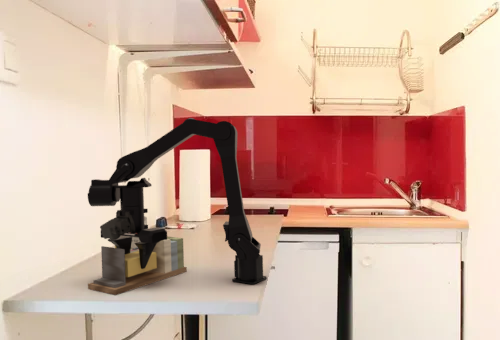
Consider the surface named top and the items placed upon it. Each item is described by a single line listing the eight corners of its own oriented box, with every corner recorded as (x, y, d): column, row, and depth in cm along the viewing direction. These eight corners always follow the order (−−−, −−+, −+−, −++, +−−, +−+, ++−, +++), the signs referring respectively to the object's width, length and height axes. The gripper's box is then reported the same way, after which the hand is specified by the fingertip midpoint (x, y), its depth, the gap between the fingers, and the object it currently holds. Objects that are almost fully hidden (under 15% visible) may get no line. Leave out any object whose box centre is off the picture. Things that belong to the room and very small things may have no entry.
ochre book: (156, 267, 114) (156, 252, 114) (128, 277, 105) (127, 260, 105) (139, 265, 117) (139, 250, 117) (110, 274, 108) (109, 258, 108)
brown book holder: (186, 271, 120) (185, 236, 120) (115, 295, 100) (114, 252, 100) (160, 267, 126) (159, 233, 125) (88, 288, 106) (86, 248, 106)
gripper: (81, 207, 109) (83, 269, 110) (132, 210, 99) (134, 279, 99) (117, 203, 119) (119, 260, 119) (167, 205, 108) (169, 268, 109)
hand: (134, 267), depth 111 cm, fingers closed on ochre book, 6 cm apart
